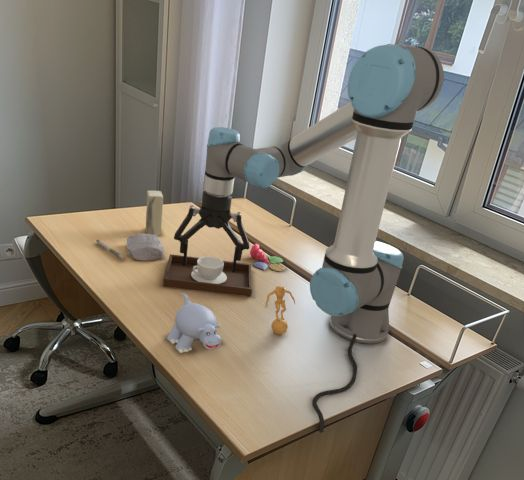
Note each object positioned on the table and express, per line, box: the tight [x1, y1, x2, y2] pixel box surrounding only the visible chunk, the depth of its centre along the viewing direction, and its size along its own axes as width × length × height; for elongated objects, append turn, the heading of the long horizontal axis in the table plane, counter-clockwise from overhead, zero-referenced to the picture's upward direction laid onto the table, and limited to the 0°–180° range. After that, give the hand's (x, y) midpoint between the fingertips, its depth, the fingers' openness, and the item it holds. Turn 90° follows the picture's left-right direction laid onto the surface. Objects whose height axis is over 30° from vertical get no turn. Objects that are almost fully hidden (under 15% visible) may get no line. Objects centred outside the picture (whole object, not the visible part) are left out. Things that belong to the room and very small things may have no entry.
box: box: [145, 190, 164, 236], centre depth 170 cm, size 5×4×13 cm
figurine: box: [264, 285, 296, 335], centre depth 132 cm, size 8×6×12 cm
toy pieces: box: [249, 243, 286, 272], centre depth 166 cm, size 12×11×4 cm
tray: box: [162, 253, 253, 298], centre depth 153 cm, size 16×24×2 cm, turn 92°
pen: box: [95, 239, 125, 260], centre depth 157 cm, size 1×14×1 cm, turn 46°
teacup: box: [191, 255, 227, 284], centre depth 152 cm, size 10×10×5 cm
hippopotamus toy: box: [166, 293, 222, 354], centre depth 123 cm, size 11×15×10 cm
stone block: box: [126, 233, 164, 262], centre depth 160 cm, size 12×5×10 cm
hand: (209, 267), depth 152 cm, fingers open, 13 cm apart
